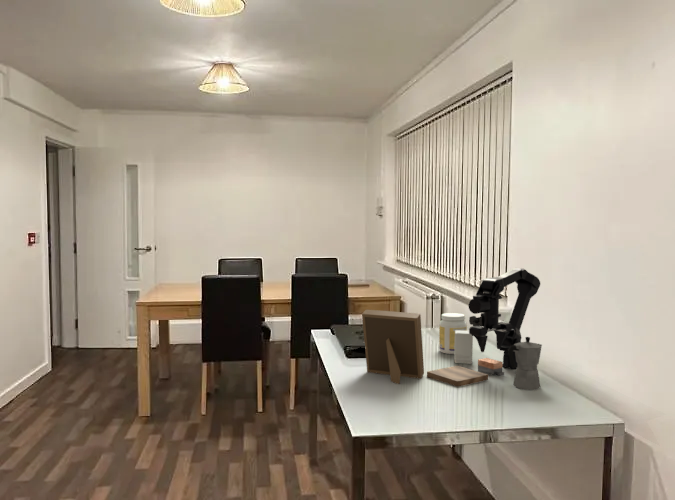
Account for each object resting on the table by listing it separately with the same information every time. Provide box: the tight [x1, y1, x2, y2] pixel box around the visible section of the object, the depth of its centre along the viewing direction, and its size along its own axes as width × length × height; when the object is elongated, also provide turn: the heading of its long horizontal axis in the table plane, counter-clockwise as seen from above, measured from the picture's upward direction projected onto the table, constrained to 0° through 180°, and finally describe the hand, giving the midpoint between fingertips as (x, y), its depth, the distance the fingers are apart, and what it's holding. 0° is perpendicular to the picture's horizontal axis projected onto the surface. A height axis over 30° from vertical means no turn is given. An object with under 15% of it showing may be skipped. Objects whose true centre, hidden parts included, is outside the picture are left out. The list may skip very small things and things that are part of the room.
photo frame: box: [361, 309, 425, 385], centre depth 220 cm, size 15×22×25 cm
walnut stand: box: [426, 365, 489, 388], centre depth 219 cm, size 16×16×2 cm
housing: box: [477, 357, 505, 377], centre depth 227 cm, size 5×10×5 cm, turn 34°
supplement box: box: [453, 330, 474, 365], centre depth 245 cm, size 7×7×13 cm
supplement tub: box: [438, 312, 468, 355], centre depth 262 cm, size 12×12×17 cm
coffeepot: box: [508, 336, 543, 391], centre depth 208 cm, size 15×9×18 cm, turn 116°
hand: (490, 350), depth 228 cm, fingers open, 9 cm apart
